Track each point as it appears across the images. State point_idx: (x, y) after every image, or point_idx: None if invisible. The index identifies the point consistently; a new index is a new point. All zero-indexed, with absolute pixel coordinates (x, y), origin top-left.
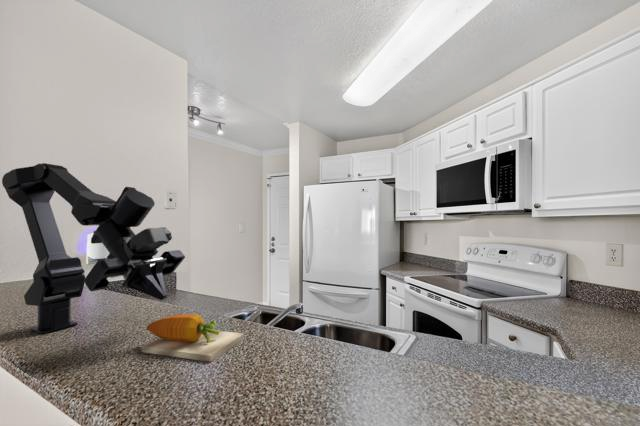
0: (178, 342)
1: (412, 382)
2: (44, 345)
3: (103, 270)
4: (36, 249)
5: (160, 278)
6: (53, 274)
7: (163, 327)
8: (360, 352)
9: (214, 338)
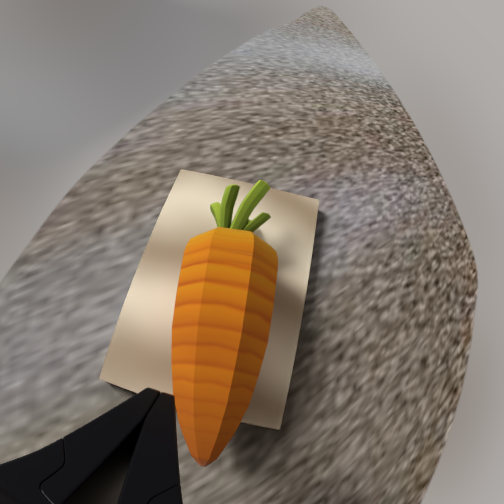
0: None
1: (316, 40)
2: None
3: None
4: None
5: (64, 463)
6: None
7: (263, 358)
8: (252, 50)
9: (211, 228)
